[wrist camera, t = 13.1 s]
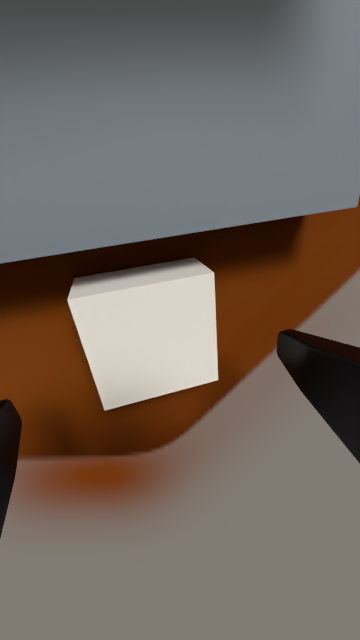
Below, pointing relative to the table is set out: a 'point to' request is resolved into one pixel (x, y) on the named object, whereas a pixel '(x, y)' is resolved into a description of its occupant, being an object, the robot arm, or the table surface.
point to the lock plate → (172, 118)
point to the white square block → (147, 329)
